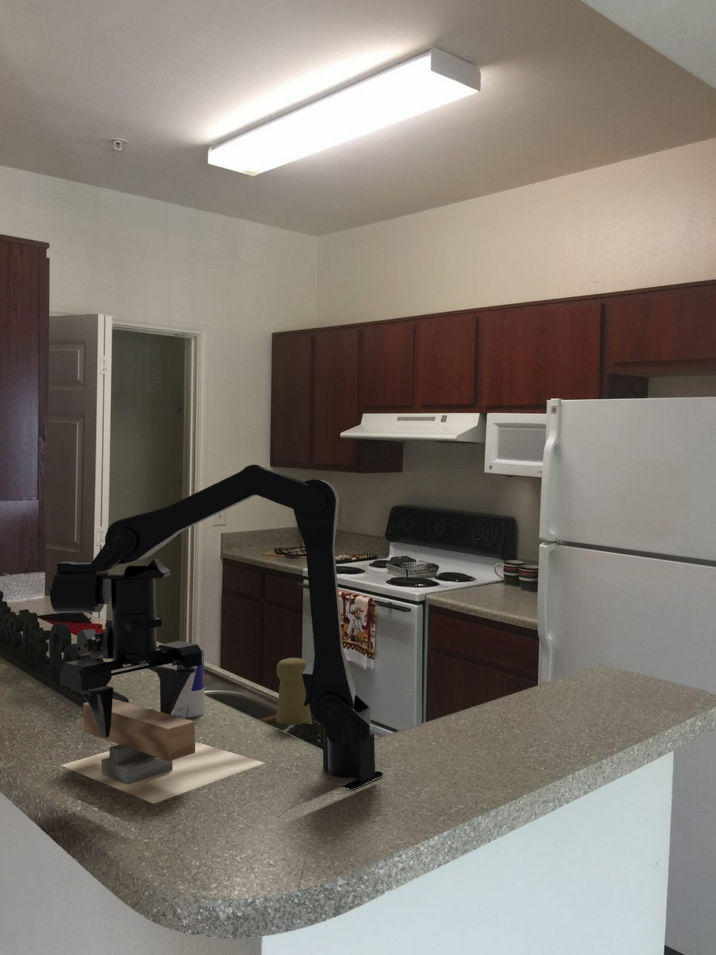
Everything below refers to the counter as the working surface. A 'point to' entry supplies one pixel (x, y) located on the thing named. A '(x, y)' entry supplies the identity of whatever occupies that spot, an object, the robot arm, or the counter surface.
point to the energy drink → (192, 695)
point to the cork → (292, 693)
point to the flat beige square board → (161, 770)
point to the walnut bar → (145, 730)
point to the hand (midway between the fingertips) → (136, 728)
